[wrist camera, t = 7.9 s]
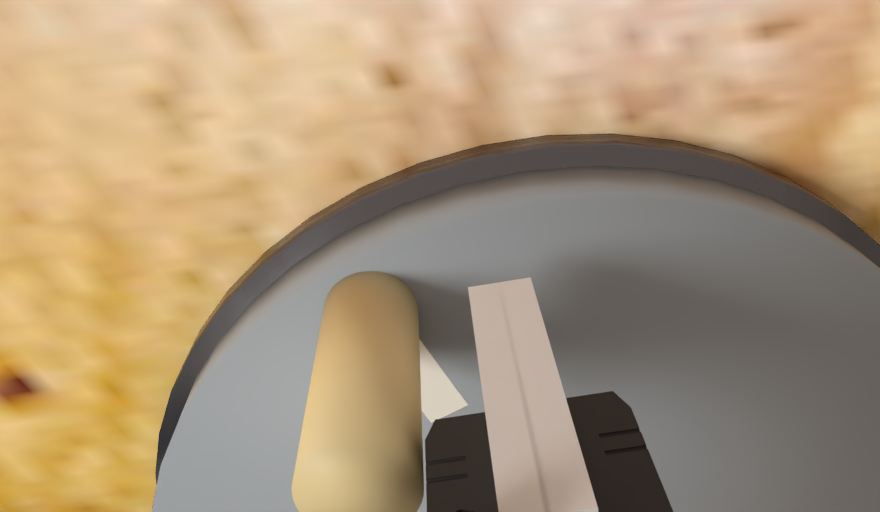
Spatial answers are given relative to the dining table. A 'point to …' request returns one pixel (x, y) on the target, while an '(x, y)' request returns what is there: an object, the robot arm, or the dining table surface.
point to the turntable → (572, 342)
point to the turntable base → (479, 167)
